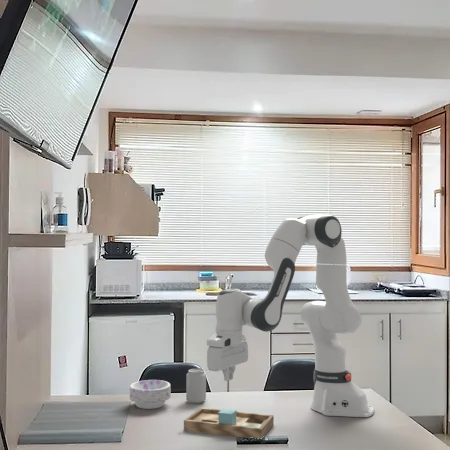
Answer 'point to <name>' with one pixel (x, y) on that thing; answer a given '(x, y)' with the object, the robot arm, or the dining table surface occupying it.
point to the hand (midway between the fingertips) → (228, 380)
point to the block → (227, 417)
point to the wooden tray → (244, 427)
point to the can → (196, 386)
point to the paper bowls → (150, 393)
